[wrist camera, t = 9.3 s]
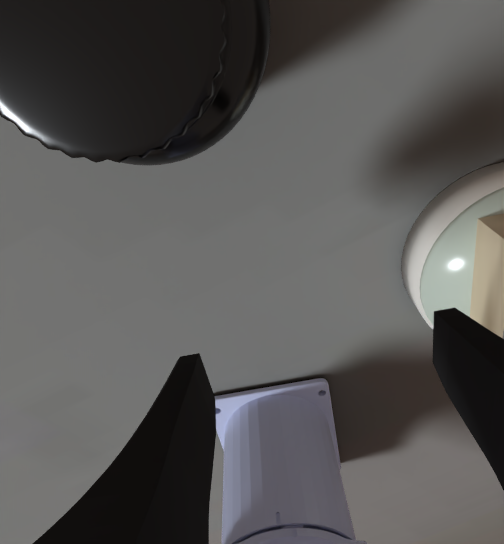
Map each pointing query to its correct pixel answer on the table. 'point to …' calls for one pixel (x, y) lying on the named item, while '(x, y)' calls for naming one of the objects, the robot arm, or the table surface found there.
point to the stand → (450, 242)
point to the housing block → (489, 275)
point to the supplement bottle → (130, 74)
